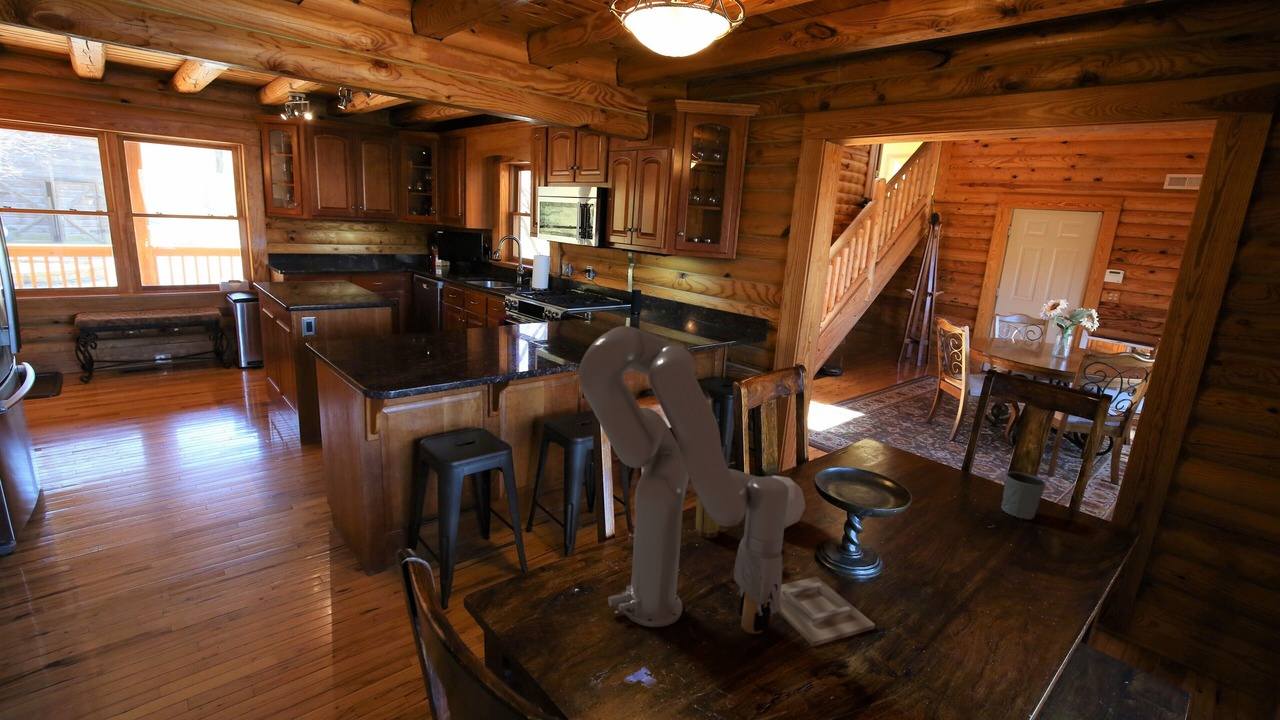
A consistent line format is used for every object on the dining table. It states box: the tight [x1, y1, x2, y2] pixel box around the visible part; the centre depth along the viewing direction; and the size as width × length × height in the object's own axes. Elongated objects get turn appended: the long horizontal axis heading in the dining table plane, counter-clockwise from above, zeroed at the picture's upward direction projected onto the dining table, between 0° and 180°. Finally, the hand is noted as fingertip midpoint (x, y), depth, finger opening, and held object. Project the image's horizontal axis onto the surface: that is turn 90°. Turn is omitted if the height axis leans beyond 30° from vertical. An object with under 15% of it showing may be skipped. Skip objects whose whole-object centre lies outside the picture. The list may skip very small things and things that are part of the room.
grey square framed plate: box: [778, 576, 876, 647], centre depth 127 cm, size 16×18×3 cm
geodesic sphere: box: [765, 475, 807, 530], centre depth 162 cm, size 15×14×14 cm
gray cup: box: [1000, 471, 1047, 519], centre depth 178 cm, size 10×10×12 cm
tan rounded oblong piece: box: [740, 592, 767, 635], centre depth 120 cm, size 4×4×8 cm
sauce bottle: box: [695, 495, 721, 539], centre depth 154 cm, size 7×6×20 cm
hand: (753, 620), depth 120 cm, fingers closed on tan rounded oblong piece, 4 cm apart
